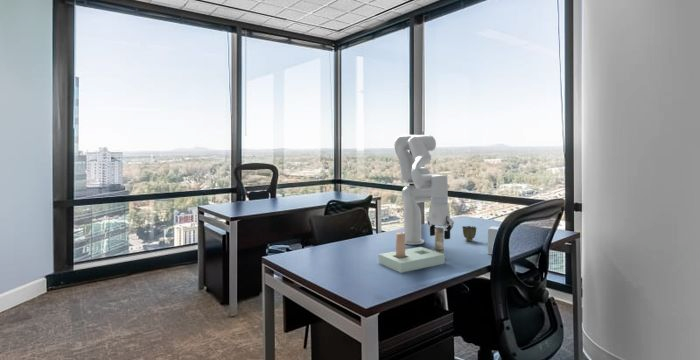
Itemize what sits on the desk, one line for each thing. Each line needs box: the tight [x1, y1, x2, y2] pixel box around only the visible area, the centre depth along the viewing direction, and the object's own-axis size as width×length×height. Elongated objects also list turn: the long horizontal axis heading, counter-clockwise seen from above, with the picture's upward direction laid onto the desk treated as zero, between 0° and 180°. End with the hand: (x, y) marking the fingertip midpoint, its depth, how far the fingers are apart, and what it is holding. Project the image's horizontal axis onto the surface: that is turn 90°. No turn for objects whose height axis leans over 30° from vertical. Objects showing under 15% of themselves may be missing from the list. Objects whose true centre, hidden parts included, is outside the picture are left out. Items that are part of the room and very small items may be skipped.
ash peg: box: [434, 226, 445, 254], centre depth 178 cm, size 4×4×14 cm
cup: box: [462, 225, 477, 243], centre depth 209 cm, size 8×7×8 cm
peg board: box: [378, 246, 446, 274], centre depth 166 cm, size 16×24×5 cm, turn 119°
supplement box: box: [487, 225, 500, 255], centre depth 183 cm, size 7×7×13 cm
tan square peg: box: [395, 232, 406, 259], centre depth 163 cm, size 4×4×14 cm
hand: (439, 237), depth 177 cm, fingers open, 9 cm apart
